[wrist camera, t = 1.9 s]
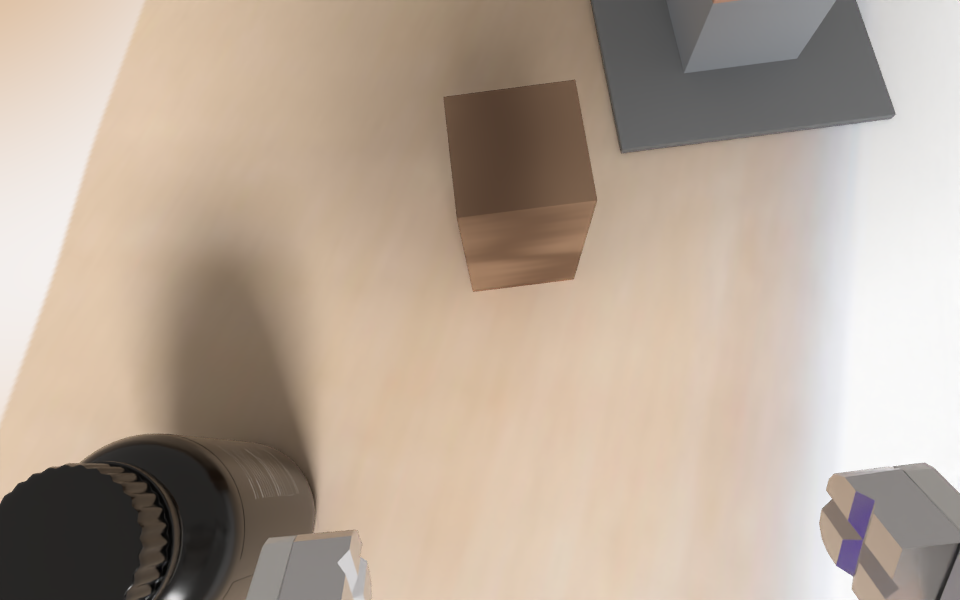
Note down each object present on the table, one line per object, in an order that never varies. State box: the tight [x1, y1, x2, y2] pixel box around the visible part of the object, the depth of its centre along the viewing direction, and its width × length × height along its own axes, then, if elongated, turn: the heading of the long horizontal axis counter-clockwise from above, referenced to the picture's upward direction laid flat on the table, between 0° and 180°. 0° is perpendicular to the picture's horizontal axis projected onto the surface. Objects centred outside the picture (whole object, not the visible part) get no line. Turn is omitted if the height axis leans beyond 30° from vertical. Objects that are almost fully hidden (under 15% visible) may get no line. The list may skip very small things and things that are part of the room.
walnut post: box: [444, 80, 597, 292], centre depth 27 cm, size 5×5×9 cm
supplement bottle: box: [0, 434, 315, 600], centre depth 22 cm, size 7×7×12 cm
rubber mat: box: [591, 0, 895, 153], centre depth 34 cm, size 14×14×1 cm
